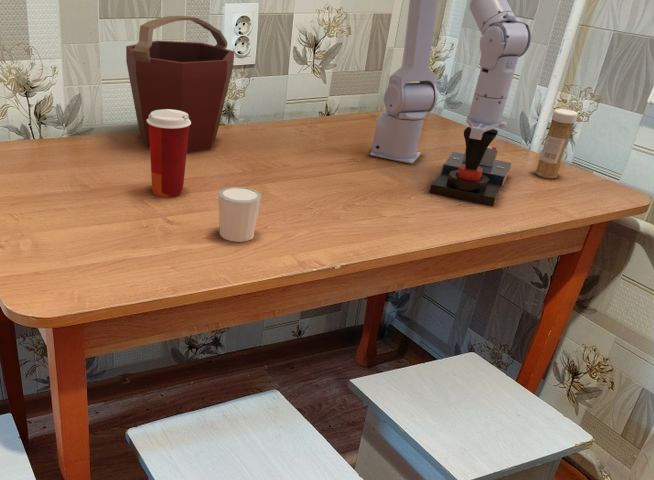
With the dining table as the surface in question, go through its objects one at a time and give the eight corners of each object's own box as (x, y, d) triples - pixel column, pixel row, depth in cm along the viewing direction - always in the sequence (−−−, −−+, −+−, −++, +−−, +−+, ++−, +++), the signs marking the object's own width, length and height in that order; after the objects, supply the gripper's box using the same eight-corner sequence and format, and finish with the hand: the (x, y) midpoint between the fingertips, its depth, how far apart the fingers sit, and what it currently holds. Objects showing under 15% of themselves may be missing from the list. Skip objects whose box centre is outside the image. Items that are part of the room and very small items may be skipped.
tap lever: (462, 161, 144) (467, 142, 142) (463, 159, 146) (468, 140, 143) (492, 167, 142) (497, 148, 140) (493, 165, 143) (498, 146, 141)
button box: (429, 193, 136) (433, 175, 134) (437, 181, 142) (442, 164, 141) (492, 206, 132) (498, 189, 130) (499, 194, 138) (504, 176, 136)
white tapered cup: (214, 225, 118) (216, 185, 114) (254, 226, 118) (258, 186, 114) (217, 243, 112) (220, 201, 108) (260, 243, 113) (264, 202, 109)
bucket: (146, 162, 142) (147, 28, 128) (105, 131, 158) (101, 9, 144) (249, 149, 153) (259, 24, 139) (200, 121, 169) (206, 6, 155)
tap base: (439, 178, 144) (443, 163, 142) (449, 165, 152) (453, 150, 150) (500, 191, 140) (504, 175, 138) (507, 176, 147) (511, 161, 146)
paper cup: (194, 188, 131) (197, 112, 124) (179, 202, 125) (181, 122, 118) (155, 181, 133) (156, 105, 126) (139, 194, 127) (139, 116, 120)
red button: (454, 179, 135) (457, 168, 134) (459, 172, 138) (461, 162, 137) (478, 184, 133) (481, 173, 132) (482, 177, 136) (484, 167, 135)
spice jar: (561, 177, 149) (583, 112, 141) (548, 180, 147) (569, 115, 139) (542, 170, 152) (563, 107, 145) (529, 173, 150) (549, 109, 142)
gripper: (508, 106, 120) (486, 183, 128) (518, 90, 131) (498, 162, 139) (466, 99, 123) (447, 175, 130) (480, 84, 134) (462, 155, 141)
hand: (471, 168), depth 134 cm, fingers closed
